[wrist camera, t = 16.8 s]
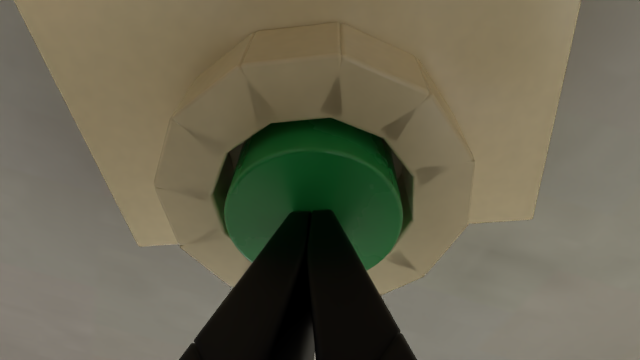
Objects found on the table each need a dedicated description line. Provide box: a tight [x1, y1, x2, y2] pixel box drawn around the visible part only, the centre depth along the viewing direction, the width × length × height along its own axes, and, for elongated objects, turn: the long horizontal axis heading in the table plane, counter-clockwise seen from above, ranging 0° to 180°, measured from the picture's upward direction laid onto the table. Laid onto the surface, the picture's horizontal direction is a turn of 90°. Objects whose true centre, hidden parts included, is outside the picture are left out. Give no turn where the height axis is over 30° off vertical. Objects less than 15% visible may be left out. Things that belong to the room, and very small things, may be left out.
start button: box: [224, 118, 403, 271], centre depth 10 cm, size 4×4×2 cm
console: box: [14, 0, 581, 296], centre depth 10 cm, size 11×11×4 cm
